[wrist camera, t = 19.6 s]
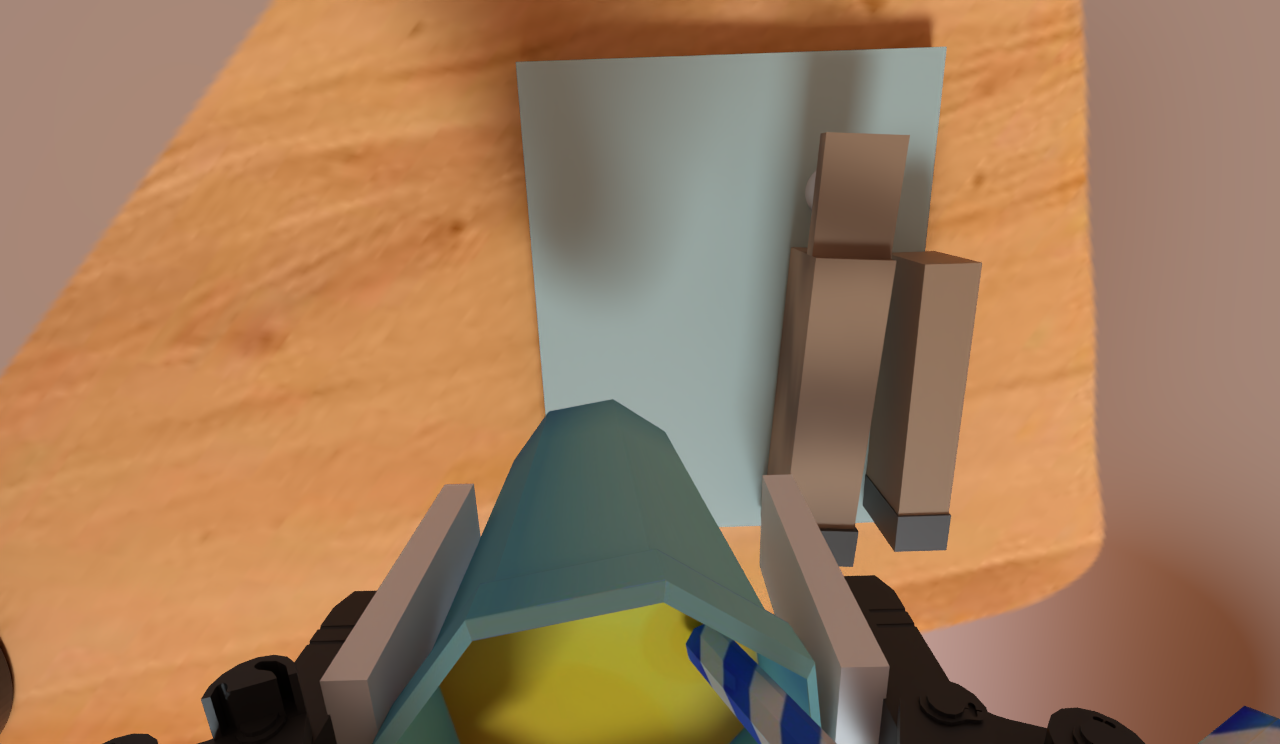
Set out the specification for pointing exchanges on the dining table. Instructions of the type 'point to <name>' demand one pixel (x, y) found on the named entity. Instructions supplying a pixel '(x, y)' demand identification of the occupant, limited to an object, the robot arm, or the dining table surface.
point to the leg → (837, 329)
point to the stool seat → (737, 260)
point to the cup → (620, 613)
